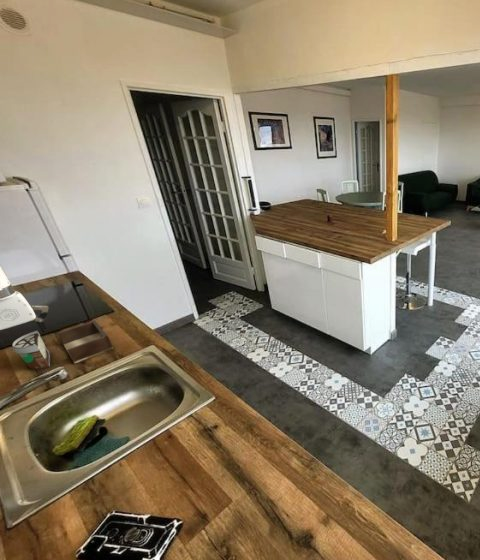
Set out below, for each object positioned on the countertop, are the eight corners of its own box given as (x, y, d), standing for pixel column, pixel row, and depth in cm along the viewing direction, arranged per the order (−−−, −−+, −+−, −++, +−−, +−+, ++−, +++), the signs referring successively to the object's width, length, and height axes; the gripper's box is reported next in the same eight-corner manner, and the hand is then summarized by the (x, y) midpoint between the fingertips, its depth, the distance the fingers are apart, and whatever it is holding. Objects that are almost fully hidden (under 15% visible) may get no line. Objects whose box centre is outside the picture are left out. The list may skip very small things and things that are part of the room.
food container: (25, 359, 111) (11, 336, 106) (49, 352, 115) (37, 330, 110) (23, 377, 103) (8, 353, 99) (49, 369, 107) (36, 345, 103)
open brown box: (74, 363, 109) (67, 350, 107) (63, 345, 119) (57, 332, 116) (113, 348, 117) (107, 336, 115) (100, 332, 127) (95, 320, 124)
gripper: (-49, 308, 89) (-15, 355, 96) (37, 286, 101) (61, 330, 108) (-50, 300, 93) (-17, 346, 100) (33, 280, 105) (56, 322, 112)
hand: (23, 337), depth 104 cm, fingers open, 9 cm apart
